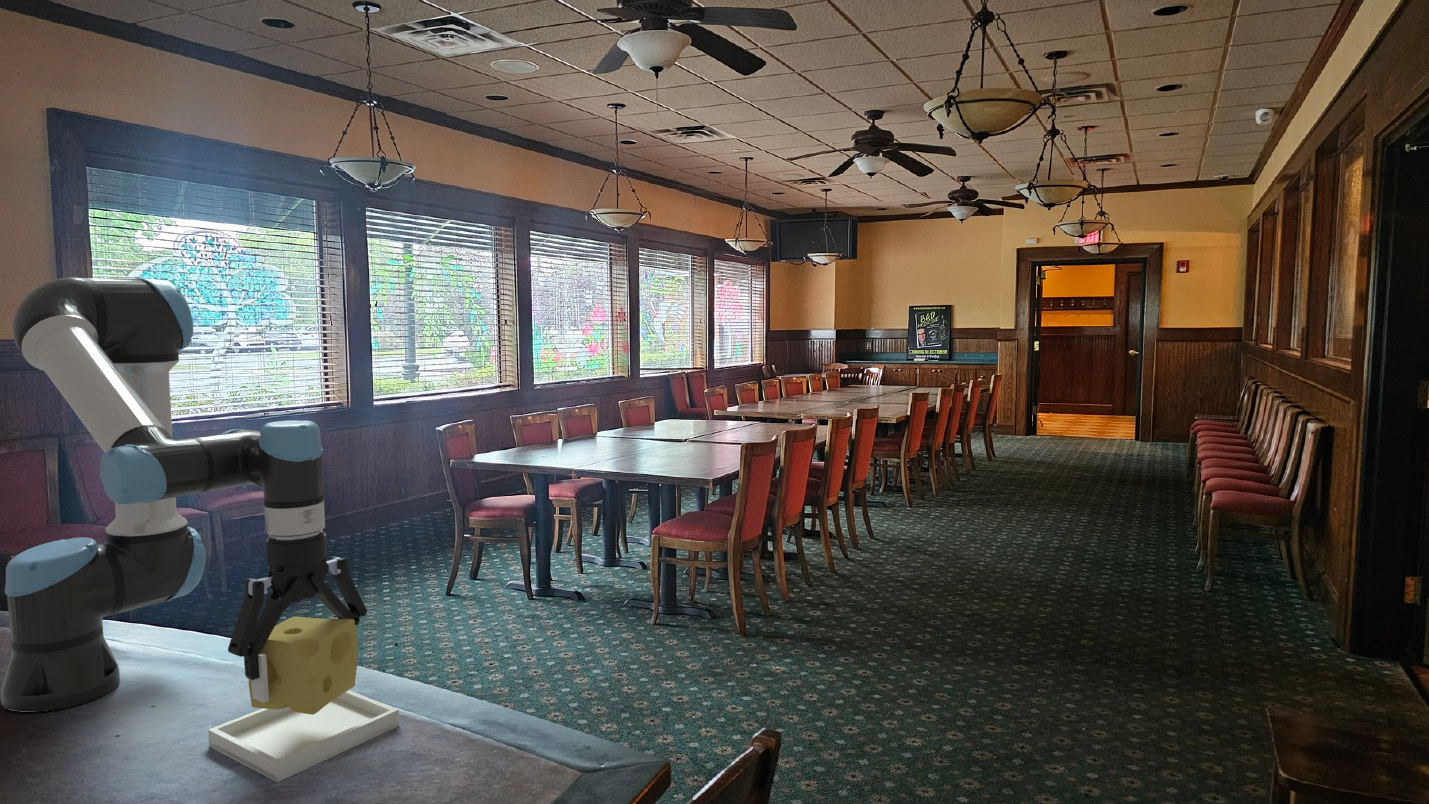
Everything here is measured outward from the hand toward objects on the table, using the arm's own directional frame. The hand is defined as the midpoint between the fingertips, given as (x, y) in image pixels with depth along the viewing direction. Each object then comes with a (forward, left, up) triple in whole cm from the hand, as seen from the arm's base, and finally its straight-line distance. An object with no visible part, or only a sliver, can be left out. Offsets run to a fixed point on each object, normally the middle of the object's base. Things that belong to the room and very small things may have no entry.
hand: (304, 683), depth 127 cm
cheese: (0, 0, -2) cm, 2 cm away
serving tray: (0, 0, -8) cm, 8 cm away
